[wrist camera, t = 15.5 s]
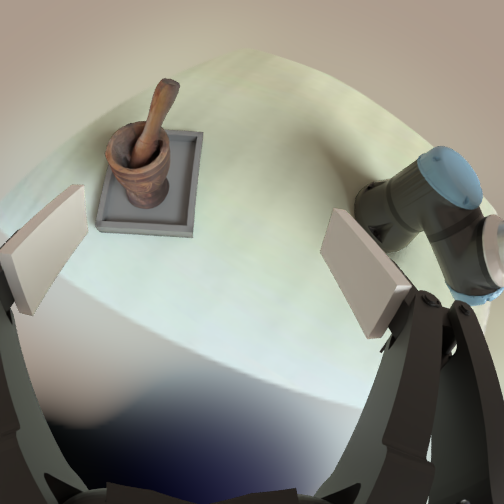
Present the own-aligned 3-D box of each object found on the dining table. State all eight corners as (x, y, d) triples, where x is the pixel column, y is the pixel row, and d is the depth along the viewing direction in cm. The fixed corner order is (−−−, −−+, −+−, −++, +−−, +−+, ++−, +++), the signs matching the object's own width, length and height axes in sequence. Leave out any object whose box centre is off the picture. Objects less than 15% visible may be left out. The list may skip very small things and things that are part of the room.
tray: (202, 141, 49) (203, 132, 46) (192, 237, 45) (192, 232, 42) (121, 138, 46) (118, 129, 43) (100, 232, 41) (95, 226, 39)
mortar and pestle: (142, 149, 45) (127, 67, 26) (186, 159, 46) (189, 76, 27) (117, 205, 42) (78, 135, 23) (163, 218, 43) (148, 149, 24)
